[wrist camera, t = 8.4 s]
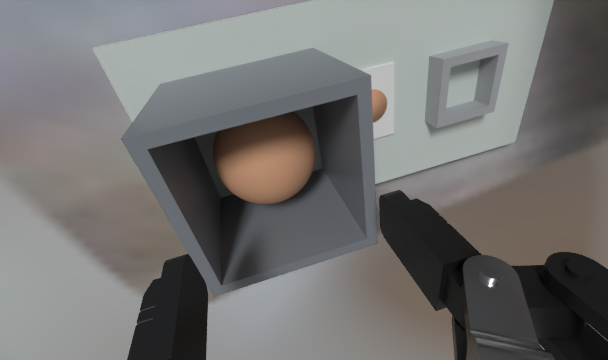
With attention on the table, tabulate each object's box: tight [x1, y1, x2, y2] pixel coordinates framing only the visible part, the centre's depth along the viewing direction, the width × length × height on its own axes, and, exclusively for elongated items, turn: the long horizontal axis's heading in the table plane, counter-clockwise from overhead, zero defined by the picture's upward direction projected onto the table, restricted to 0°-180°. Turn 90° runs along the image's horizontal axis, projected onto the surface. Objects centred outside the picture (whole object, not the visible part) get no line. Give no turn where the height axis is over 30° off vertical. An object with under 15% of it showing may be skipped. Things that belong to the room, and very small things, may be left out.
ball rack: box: [92, 0, 554, 297], centre depth 17 cm, size 29×14×9 cm, turn 100°
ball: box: [213, 112, 316, 204], centre depth 17 cm, size 6×6×6 cm
